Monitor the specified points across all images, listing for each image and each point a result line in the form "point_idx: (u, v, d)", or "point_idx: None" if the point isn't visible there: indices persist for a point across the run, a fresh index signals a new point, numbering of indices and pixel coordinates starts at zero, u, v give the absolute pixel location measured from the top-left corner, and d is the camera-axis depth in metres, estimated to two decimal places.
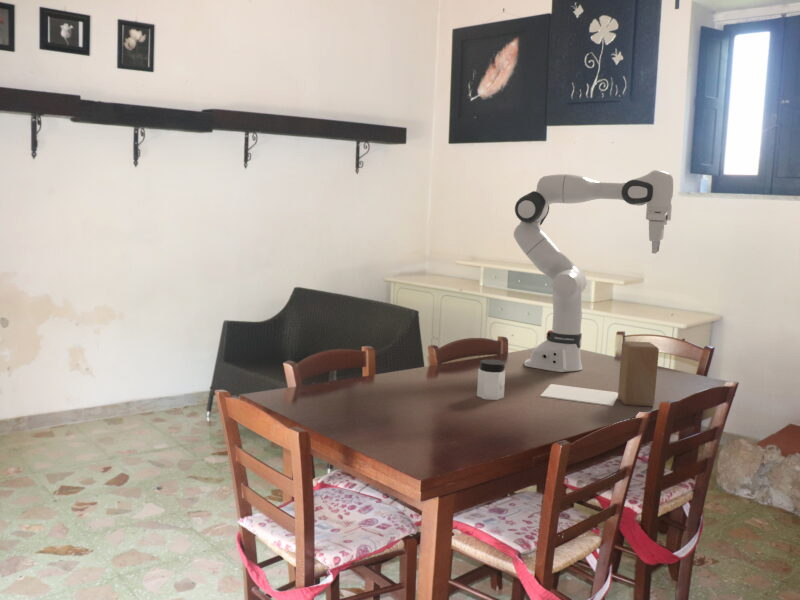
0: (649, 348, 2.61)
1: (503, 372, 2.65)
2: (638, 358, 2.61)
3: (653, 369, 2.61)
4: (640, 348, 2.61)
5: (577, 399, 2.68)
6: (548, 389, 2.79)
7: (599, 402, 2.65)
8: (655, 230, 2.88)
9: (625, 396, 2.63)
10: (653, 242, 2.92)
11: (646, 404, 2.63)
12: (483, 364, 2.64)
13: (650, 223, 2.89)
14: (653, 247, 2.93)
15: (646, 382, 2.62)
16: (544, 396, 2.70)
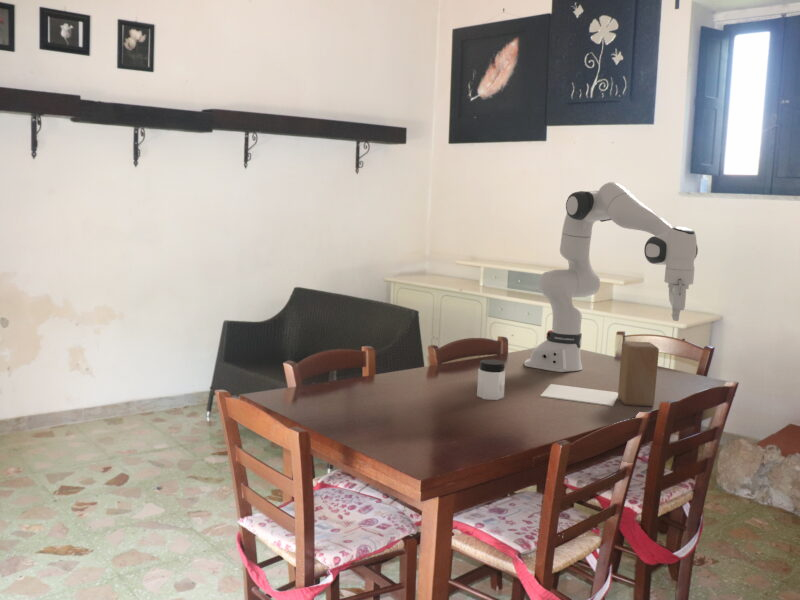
0: (649, 348, 2.61)
1: (503, 372, 2.65)
2: (638, 358, 2.61)
3: (653, 368, 2.61)
4: (640, 348, 2.61)
5: (577, 399, 2.68)
6: (548, 389, 2.79)
7: (599, 402, 2.65)
8: None
9: (625, 396, 2.63)
10: None
11: (646, 404, 2.63)
12: (483, 364, 2.64)
13: None
14: None
15: (646, 382, 2.62)
16: (544, 396, 2.70)
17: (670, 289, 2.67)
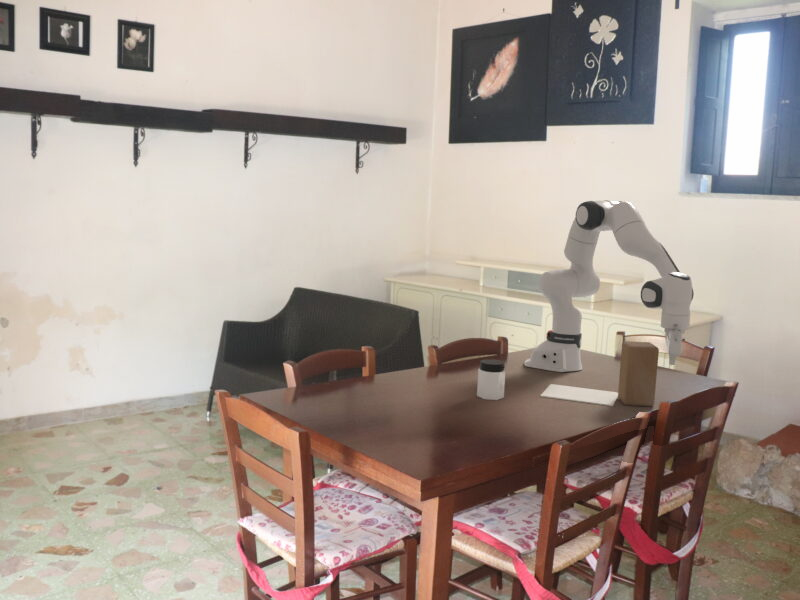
0: (649, 348, 2.61)
1: (503, 372, 2.65)
2: (638, 358, 2.61)
3: (653, 369, 2.61)
4: (640, 348, 2.61)
5: (577, 399, 2.68)
6: (548, 389, 2.79)
7: (599, 402, 2.65)
8: None
9: (625, 396, 2.63)
10: None
11: (646, 404, 2.63)
12: (483, 364, 2.64)
13: None
14: None
15: (646, 382, 2.62)
16: (544, 396, 2.70)
17: (666, 333, 2.69)
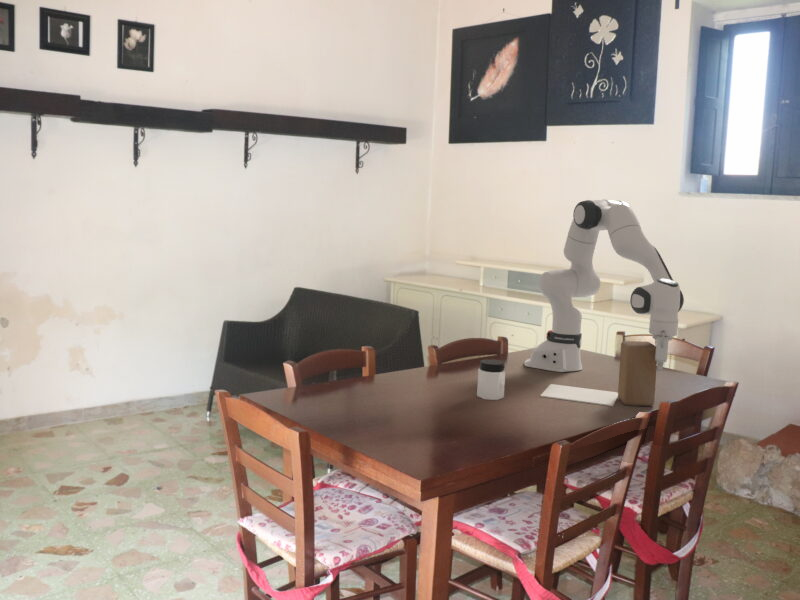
0: (648, 348, 2.61)
1: (503, 372, 2.65)
2: (637, 358, 2.61)
3: (653, 368, 2.61)
4: (639, 348, 2.61)
5: (577, 399, 2.68)
6: (548, 389, 2.79)
7: (599, 402, 2.65)
8: None
9: (625, 396, 2.63)
10: None
11: (646, 404, 2.63)
12: (483, 364, 2.64)
13: None
14: None
15: (646, 382, 2.62)
16: (544, 396, 2.70)
17: (656, 338, 2.71)
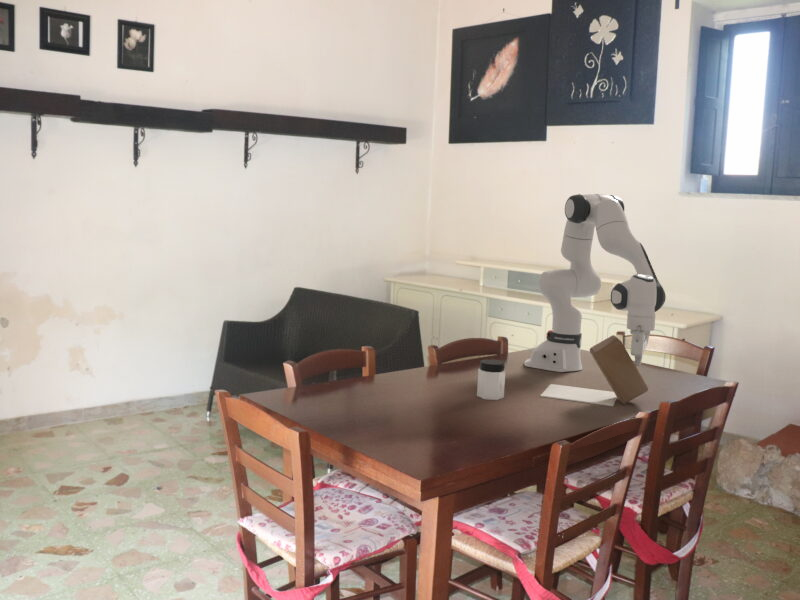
0: (611, 345, 2.61)
1: (503, 372, 2.65)
2: (607, 359, 2.62)
3: (627, 359, 2.61)
4: (603, 350, 2.62)
5: (577, 399, 2.68)
6: (548, 389, 2.79)
7: (599, 402, 2.65)
8: None
9: (619, 397, 2.64)
10: None
11: (641, 392, 2.63)
12: (483, 364, 2.64)
13: None
14: None
15: (628, 374, 2.62)
16: (544, 396, 2.70)
17: None
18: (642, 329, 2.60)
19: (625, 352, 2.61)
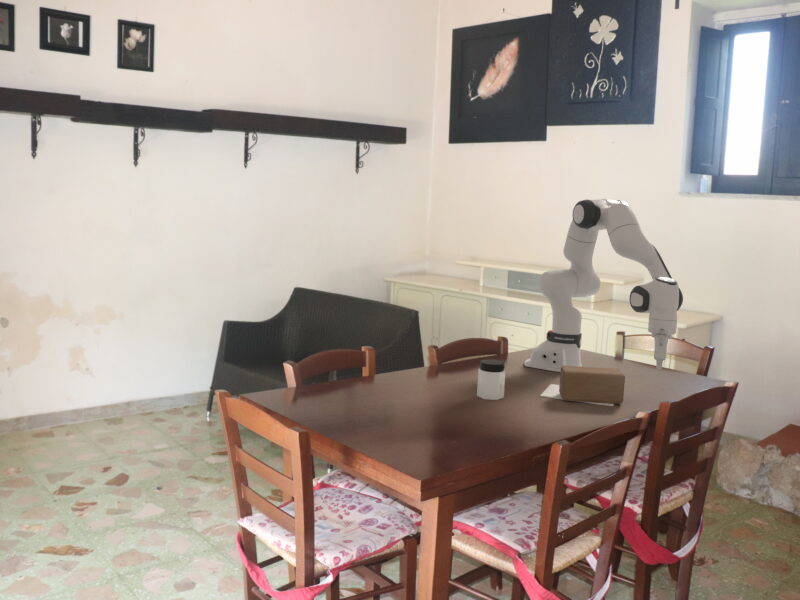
0: (564, 381, 2.64)
1: (503, 372, 2.65)
2: (574, 392, 2.64)
3: (585, 377, 2.63)
4: (564, 389, 2.64)
5: None
6: (548, 389, 2.79)
7: (599, 402, 2.65)
8: None
9: (613, 402, 2.64)
10: None
11: (622, 383, 2.62)
12: (483, 364, 2.64)
13: None
14: None
15: (599, 383, 2.63)
16: (544, 396, 2.70)
17: None
18: (665, 333, 2.58)
19: (578, 374, 2.63)
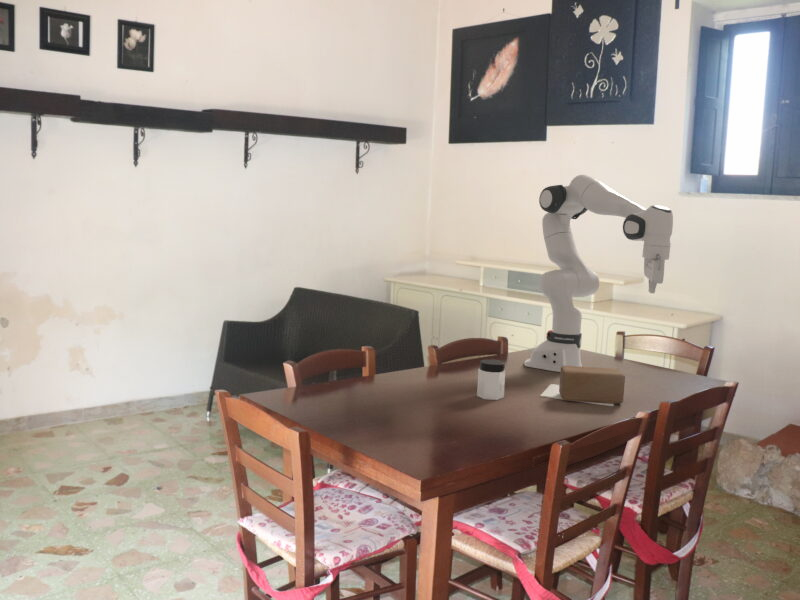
0: (564, 381, 2.64)
1: (503, 372, 2.65)
2: (574, 392, 2.64)
3: (585, 377, 2.63)
4: (564, 389, 2.64)
5: None
6: (548, 389, 2.79)
7: (599, 402, 2.65)
8: None
9: (613, 402, 2.64)
10: None
11: (622, 383, 2.62)
12: (483, 364, 2.64)
13: None
14: None
15: (599, 383, 2.63)
16: (544, 396, 2.70)
17: (645, 264, 2.85)
18: (660, 258, 2.72)
19: (578, 374, 2.63)
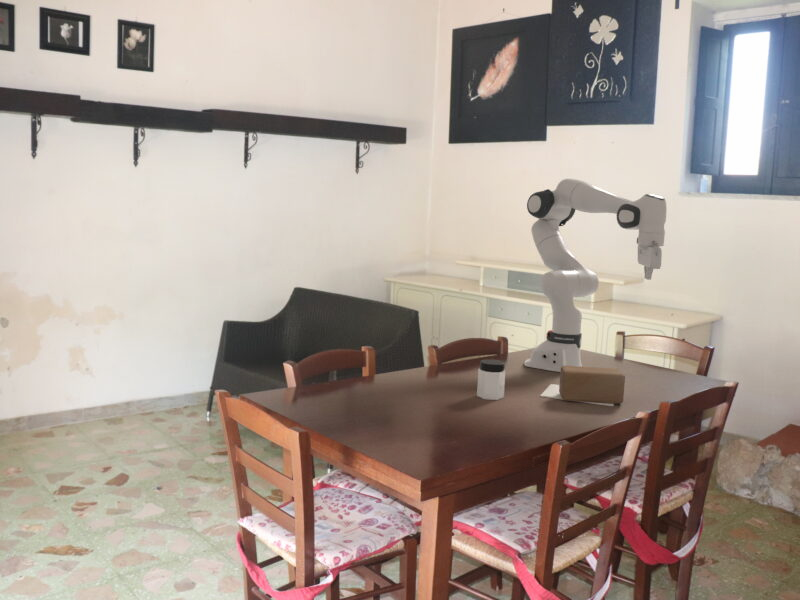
0: (564, 381, 2.64)
1: (503, 372, 2.65)
2: (574, 392, 2.64)
3: (585, 377, 2.63)
4: (564, 389, 2.64)
5: None
6: (548, 389, 2.79)
7: (599, 402, 2.65)
8: None
9: (613, 402, 2.64)
10: None
11: (622, 383, 2.62)
12: (483, 364, 2.64)
13: None
14: None
15: (599, 383, 2.63)
16: (544, 396, 2.70)
17: (639, 252, 2.93)
18: None
19: (578, 374, 2.63)
